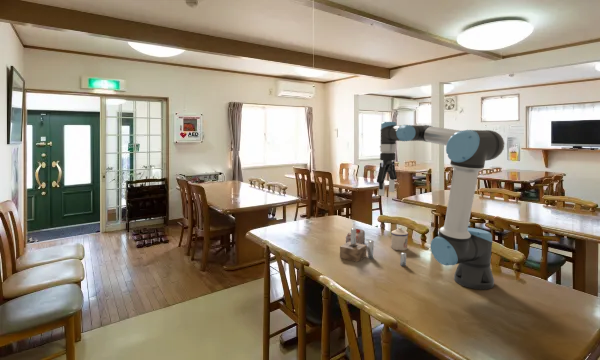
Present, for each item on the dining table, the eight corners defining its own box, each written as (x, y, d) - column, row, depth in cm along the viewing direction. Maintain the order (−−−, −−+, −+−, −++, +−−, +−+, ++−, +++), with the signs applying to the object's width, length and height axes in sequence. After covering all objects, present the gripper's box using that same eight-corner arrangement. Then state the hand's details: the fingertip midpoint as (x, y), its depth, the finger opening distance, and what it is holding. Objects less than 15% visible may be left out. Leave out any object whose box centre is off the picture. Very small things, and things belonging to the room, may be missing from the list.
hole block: (366, 256, 176) (366, 245, 175) (357, 261, 168) (357, 250, 167) (349, 252, 182) (349, 241, 181) (339, 257, 174) (340, 246, 173)
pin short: (406, 265, 163) (407, 253, 163) (404, 266, 161) (405, 254, 161) (401, 263, 165) (401, 252, 164) (399, 265, 163) (399, 253, 162)
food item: (358, 250, 185) (358, 232, 184) (344, 248, 189) (344, 231, 188) (365, 243, 197) (366, 227, 196) (352, 241, 201) (353, 225, 200)
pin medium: (374, 257, 173) (374, 240, 172) (371, 259, 171) (372, 242, 170) (369, 256, 175) (369, 239, 174) (367, 258, 173) (367, 241, 172)
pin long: (356, 256, 175) (356, 228, 173) (354, 258, 173) (354, 229, 171) (352, 255, 177) (352, 227, 175) (349, 257, 174) (350, 229, 173)
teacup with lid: (407, 251, 182) (408, 230, 181) (390, 249, 186) (390, 229, 184) (408, 244, 194) (409, 225, 192) (392, 243, 197) (392, 223, 195)
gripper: (390, 151, 183) (388, 189, 186) (370, 153, 163) (369, 196, 166) (403, 151, 179) (402, 191, 181) (385, 153, 159) (384, 197, 162)
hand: (386, 193), depth 174 cm, fingers open, 13 cm apart
